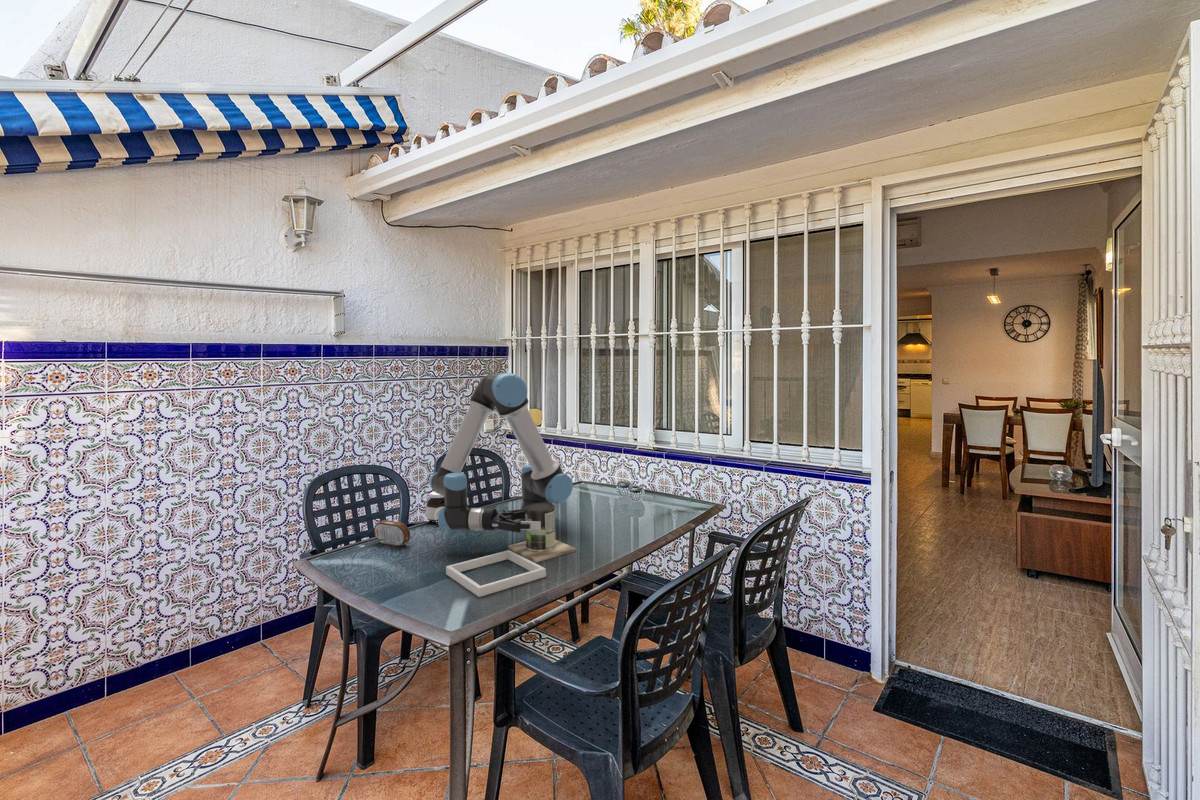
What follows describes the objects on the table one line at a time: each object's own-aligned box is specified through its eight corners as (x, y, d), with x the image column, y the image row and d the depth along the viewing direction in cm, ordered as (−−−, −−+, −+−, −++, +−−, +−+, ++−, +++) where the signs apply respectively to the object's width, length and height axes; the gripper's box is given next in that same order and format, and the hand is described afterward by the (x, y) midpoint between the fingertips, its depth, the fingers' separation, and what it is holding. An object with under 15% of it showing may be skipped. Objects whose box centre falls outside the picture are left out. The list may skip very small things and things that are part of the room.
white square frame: (446, 574, 173) (445, 566, 173) (509, 557, 187) (509, 549, 186) (479, 597, 156) (478, 588, 156) (545, 576, 170) (545, 568, 169)
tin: (411, 545, 200) (410, 522, 200) (404, 548, 198) (403, 525, 197) (379, 540, 207) (378, 518, 206) (373, 543, 204) (371, 520, 203)
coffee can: (531, 554, 186) (529, 512, 185) (522, 545, 196) (520, 505, 195) (560, 549, 191) (559, 508, 190) (550, 540, 200) (548, 501, 199)
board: (507, 548, 195) (507, 545, 195) (546, 538, 205) (546, 535, 205) (535, 562, 181) (535, 559, 181) (575, 551, 191) (575, 548, 191)
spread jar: (440, 516, 237) (439, 489, 236) (462, 519, 232) (461, 491, 232) (420, 524, 227) (419, 495, 226) (442, 527, 222) (441, 498, 221)
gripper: (494, 519, 207) (551, 520, 205) (472, 541, 182) (537, 542, 180) (494, 499, 207) (551, 499, 204) (471, 518, 182) (536, 519, 180)
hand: (544, 519), depth 192 cm, fingers open, 13 cm apart
